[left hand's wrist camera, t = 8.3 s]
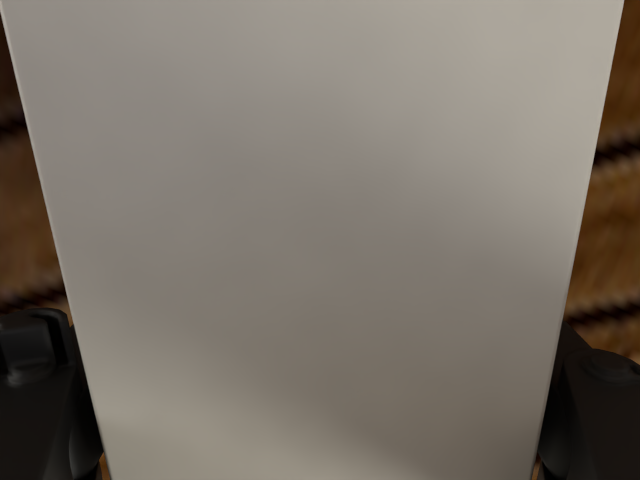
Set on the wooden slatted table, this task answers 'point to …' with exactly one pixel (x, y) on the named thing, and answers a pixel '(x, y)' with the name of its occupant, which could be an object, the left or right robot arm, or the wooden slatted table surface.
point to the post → (315, 224)
